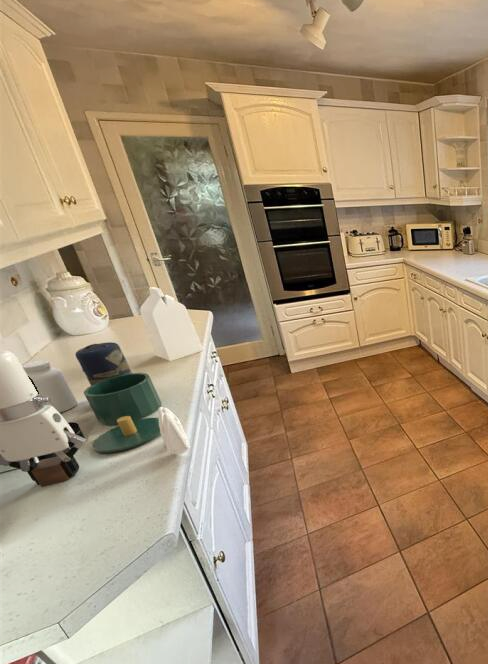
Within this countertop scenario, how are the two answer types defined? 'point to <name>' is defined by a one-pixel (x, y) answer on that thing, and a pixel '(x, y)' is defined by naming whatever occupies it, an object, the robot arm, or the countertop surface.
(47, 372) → the pill bottle
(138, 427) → the tin lid
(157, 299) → the milk
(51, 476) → the block
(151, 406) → the tea tin
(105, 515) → the countertop surface
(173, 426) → the white piece
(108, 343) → the canister
